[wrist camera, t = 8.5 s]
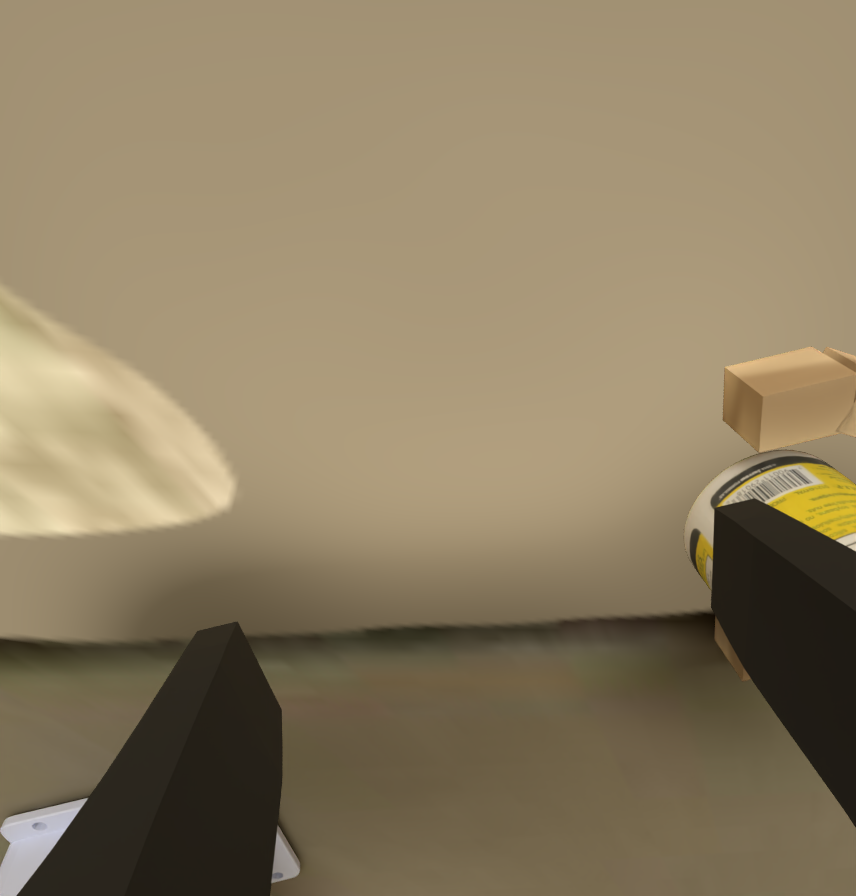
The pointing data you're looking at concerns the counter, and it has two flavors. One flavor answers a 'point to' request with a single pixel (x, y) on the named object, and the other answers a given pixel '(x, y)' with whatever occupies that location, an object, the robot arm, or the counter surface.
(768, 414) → the oak collar
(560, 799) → the counter surface
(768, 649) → the robot arm
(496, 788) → the counter surface
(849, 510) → the supplement bottle
